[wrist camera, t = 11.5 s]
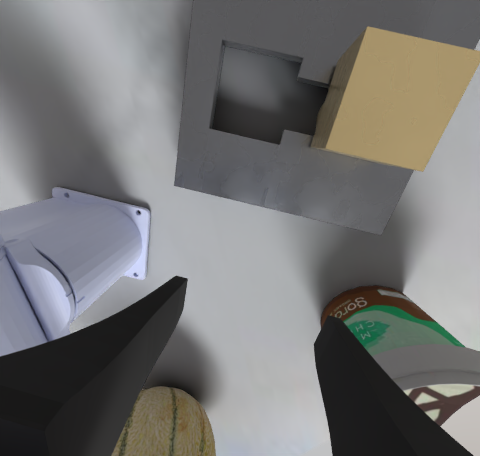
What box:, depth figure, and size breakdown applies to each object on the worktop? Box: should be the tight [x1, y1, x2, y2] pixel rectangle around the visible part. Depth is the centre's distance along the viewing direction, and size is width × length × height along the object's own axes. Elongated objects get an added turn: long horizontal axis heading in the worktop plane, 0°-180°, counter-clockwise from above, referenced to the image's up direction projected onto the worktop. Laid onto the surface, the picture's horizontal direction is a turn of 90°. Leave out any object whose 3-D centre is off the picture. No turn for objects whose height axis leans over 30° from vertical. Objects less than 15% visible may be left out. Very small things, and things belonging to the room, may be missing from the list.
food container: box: [321, 285, 480, 426], centre depth 18 cm, size 12×6×10 cm, turn 151°
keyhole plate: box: [174, 0, 480, 235], centre depth 16 cm, size 16×14×3 cm
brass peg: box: [311, 26, 480, 172], centre depth 13 cm, size 5×5×8 cm
